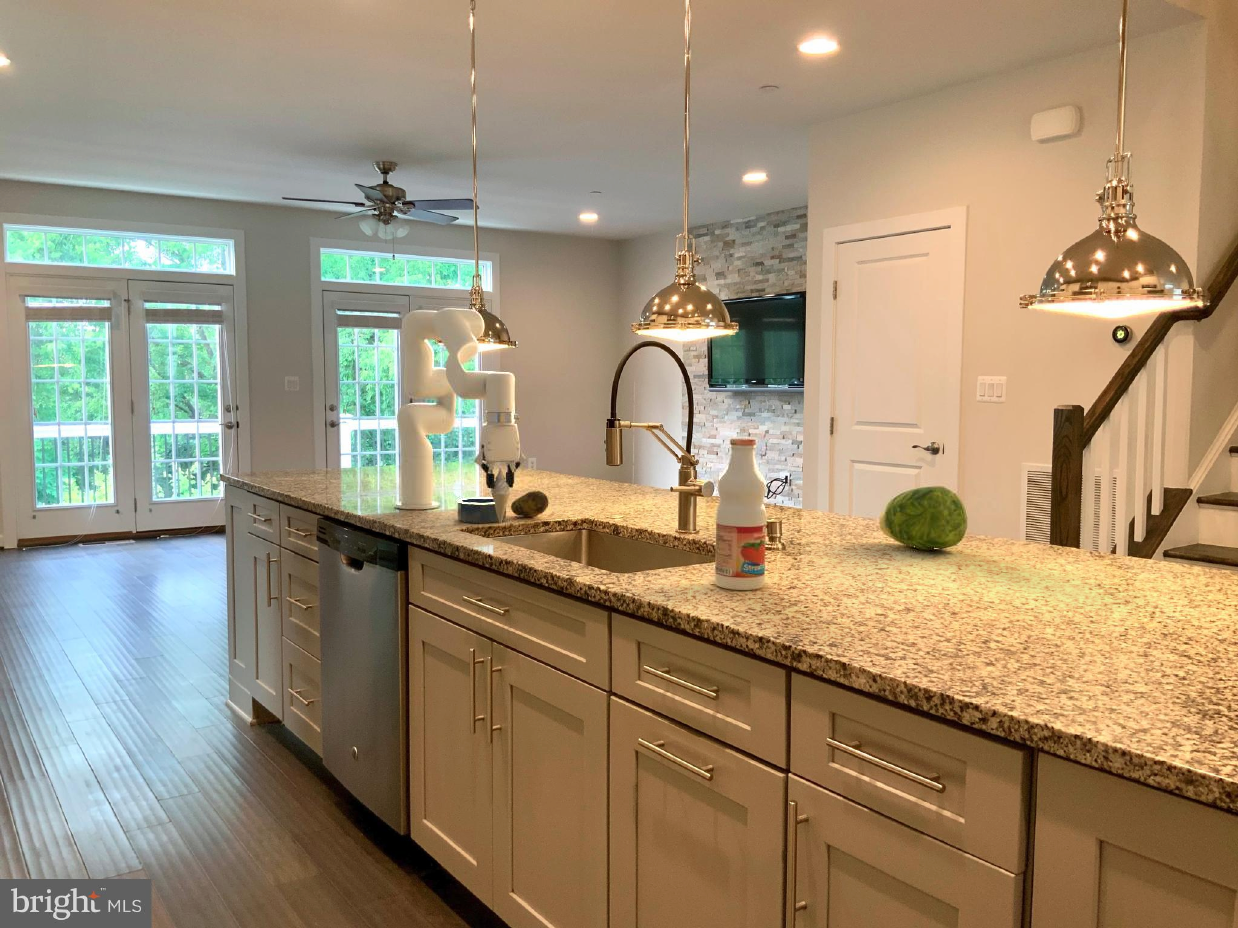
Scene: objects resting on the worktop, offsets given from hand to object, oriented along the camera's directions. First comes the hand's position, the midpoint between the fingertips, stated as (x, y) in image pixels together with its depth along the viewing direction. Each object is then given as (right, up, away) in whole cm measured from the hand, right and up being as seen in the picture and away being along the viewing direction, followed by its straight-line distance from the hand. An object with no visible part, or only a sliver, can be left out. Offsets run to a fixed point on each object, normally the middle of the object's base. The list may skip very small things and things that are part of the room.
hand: (500, 486), depth 246 cm
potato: (+6, -9, +17) cm, 20 cm away
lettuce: (+103, -14, -25) cm, 107 cm away
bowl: (-7, -10, +11) cm, 16 cm away
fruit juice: (+55, -17, -70) cm, 90 cm away
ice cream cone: (0, -10, +1) cm, 10 cm away
